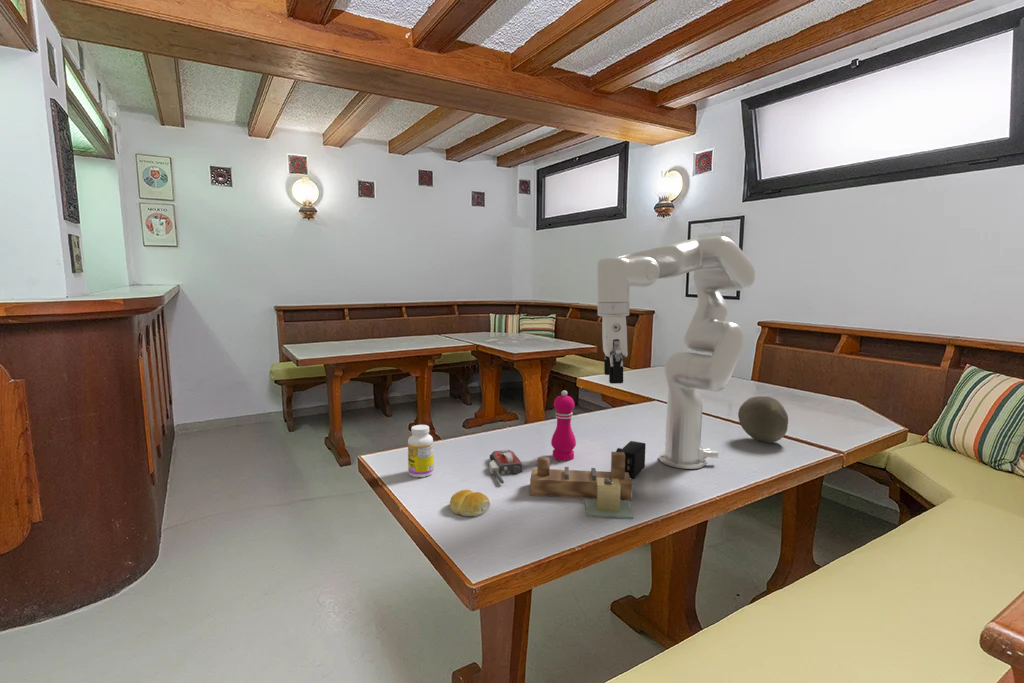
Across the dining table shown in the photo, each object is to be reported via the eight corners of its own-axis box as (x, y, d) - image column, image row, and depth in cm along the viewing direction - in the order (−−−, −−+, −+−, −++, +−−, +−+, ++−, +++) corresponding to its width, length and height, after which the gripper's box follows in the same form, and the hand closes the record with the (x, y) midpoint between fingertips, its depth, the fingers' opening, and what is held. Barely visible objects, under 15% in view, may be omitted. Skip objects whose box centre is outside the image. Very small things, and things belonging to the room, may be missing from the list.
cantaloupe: (761, 433, 168) (764, 390, 166) (797, 446, 154) (800, 400, 153) (728, 437, 163) (730, 393, 161) (761, 451, 150) (764, 403, 148)
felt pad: (628, 502, 114) (628, 500, 114) (633, 518, 106) (633, 517, 106) (584, 500, 115) (584, 498, 115) (586, 516, 107) (586, 514, 107)
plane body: (627, 487, 123) (628, 449, 121) (631, 500, 116) (633, 459, 114) (531, 483, 125) (532, 445, 124) (530, 495, 118) (530, 455, 117)
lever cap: (617, 503, 113) (618, 476, 112) (619, 512, 108) (620, 483, 108) (595, 502, 113) (596, 474, 113) (596, 511, 109) (597, 482, 108)
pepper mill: (574, 462, 140) (575, 393, 138) (549, 460, 142) (550, 392, 139) (576, 453, 147) (577, 388, 145) (552, 452, 149) (553, 387, 146)
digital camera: (625, 463, 140) (626, 439, 139) (644, 467, 137) (645, 442, 136) (613, 475, 131) (614, 450, 130) (634, 479, 128) (634, 453, 127)
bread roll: (463, 498, 117) (463, 482, 116) (495, 507, 112) (494, 490, 112) (441, 511, 110) (441, 494, 110) (473, 521, 105) (473, 504, 105)
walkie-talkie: (482, 460, 142) (498, 488, 123) (482, 446, 142) (498, 471, 123) (512, 458, 145) (531, 484, 125) (512, 443, 144) (531, 468, 125)
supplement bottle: (406, 471, 133) (405, 425, 132) (430, 467, 136) (429, 422, 134) (411, 480, 127) (410, 431, 126) (436, 476, 130) (435, 429, 128)
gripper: (635, 311, 110) (635, 386, 112) (623, 306, 127) (623, 371, 129) (601, 312, 110) (601, 387, 112) (594, 307, 127) (594, 372, 130)
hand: (613, 378), depth 121 cm, fingers open, 9 cm apart
